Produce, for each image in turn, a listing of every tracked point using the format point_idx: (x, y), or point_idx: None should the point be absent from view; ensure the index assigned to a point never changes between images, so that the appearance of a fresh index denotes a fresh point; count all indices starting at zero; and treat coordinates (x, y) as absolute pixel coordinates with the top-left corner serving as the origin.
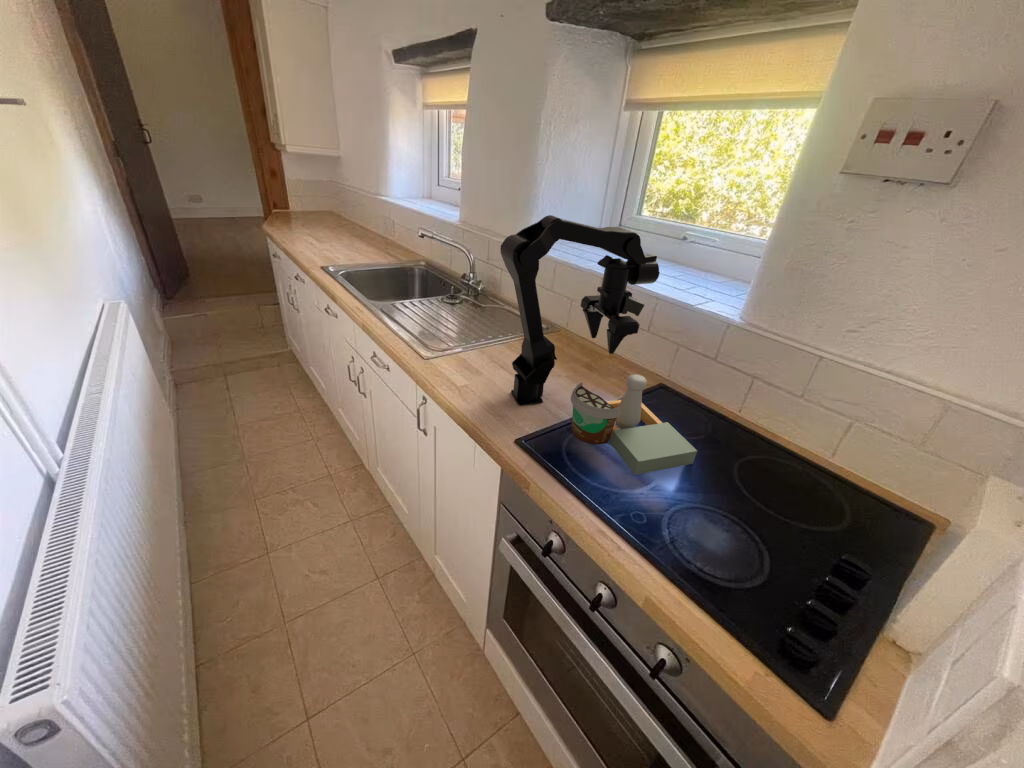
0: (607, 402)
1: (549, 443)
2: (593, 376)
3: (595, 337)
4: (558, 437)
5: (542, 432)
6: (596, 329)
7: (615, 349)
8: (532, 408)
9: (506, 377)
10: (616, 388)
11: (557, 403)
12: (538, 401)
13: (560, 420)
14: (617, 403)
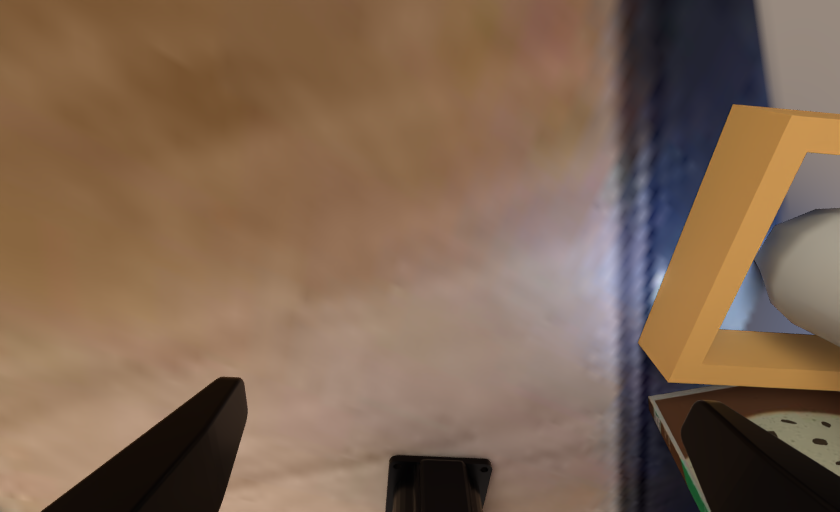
0: (709, 315)
1: (688, 505)
2: (335, 142)
3: (240, 383)
4: (682, 479)
5: (634, 504)
6: (174, 505)
7: (790, 453)
8: (505, 490)
9: (276, 500)
10: (514, 75)
11: (513, 416)
12: (487, 478)
13: (612, 445)
14: (745, 268)
